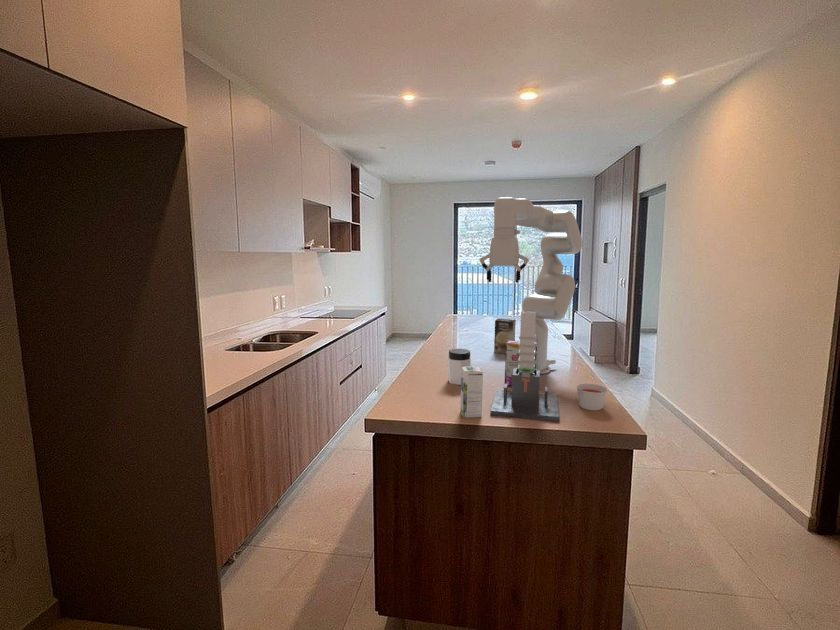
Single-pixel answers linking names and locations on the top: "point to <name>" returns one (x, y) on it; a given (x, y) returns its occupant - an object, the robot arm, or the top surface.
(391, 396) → the top surface
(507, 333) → the coffee box
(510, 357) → the candy bar box
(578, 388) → the candle
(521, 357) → the column
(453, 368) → the jar
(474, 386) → the syrup box
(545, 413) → the stand base
